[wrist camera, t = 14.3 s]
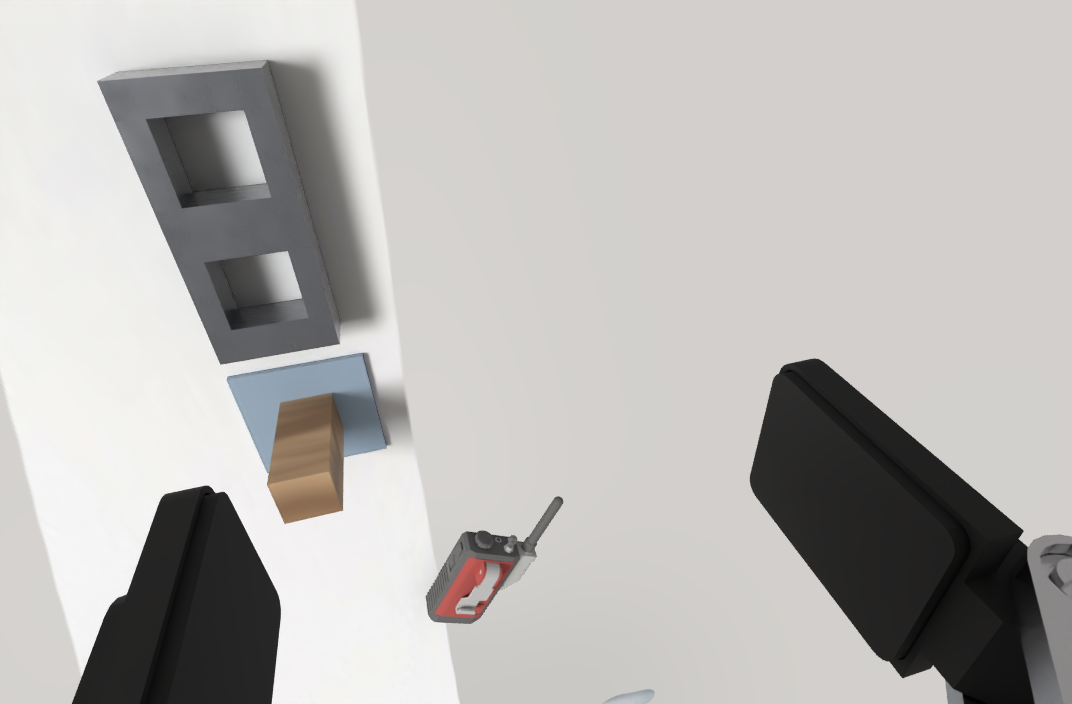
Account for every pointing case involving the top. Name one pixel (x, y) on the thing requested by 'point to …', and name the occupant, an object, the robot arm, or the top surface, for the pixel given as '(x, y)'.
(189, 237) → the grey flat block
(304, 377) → the pad
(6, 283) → the top surface
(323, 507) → the plug
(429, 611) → the walkie-talkie
